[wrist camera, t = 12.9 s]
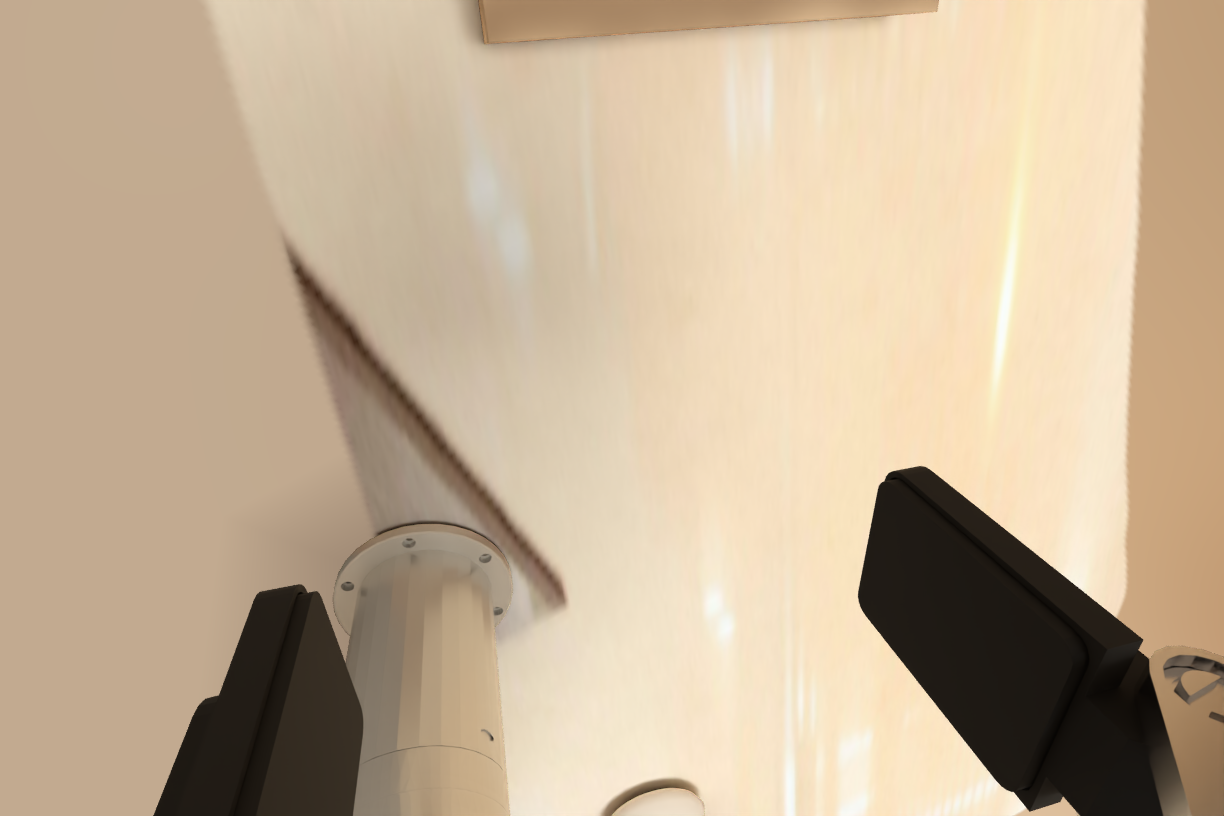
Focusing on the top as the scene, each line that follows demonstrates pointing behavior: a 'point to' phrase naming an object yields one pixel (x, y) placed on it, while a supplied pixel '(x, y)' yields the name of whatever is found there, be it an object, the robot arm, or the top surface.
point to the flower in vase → (663, 804)
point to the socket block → (666, 15)
